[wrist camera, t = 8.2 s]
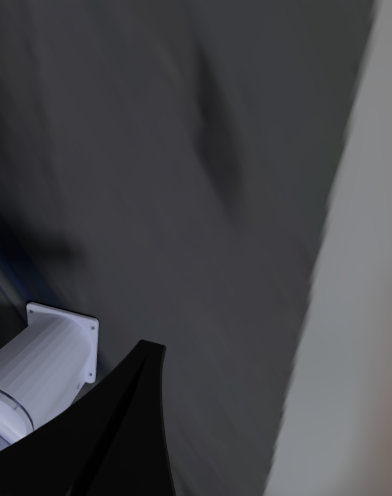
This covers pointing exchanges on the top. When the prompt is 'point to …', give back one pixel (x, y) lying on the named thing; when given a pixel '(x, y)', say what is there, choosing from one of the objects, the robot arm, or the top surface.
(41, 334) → the robot arm
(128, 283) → the top surface
